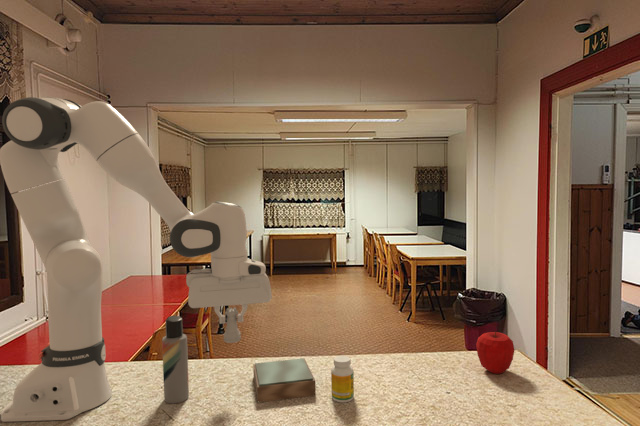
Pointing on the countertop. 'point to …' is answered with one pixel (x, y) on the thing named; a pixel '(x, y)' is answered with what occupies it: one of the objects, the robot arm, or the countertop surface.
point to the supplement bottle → (342, 380)
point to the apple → (495, 351)
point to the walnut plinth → (283, 380)
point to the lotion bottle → (175, 361)
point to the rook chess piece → (231, 327)
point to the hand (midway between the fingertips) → (231, 322)
